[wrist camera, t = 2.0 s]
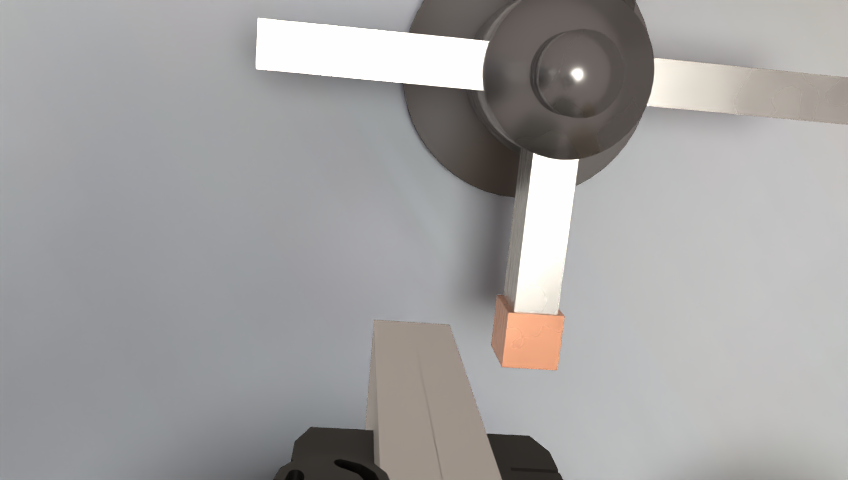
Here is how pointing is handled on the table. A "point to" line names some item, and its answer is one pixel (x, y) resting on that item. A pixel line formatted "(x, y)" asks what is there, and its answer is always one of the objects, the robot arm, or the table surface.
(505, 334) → the silver cross-shaped piece
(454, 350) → the robot arm
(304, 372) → the table surface
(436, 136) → the stand
